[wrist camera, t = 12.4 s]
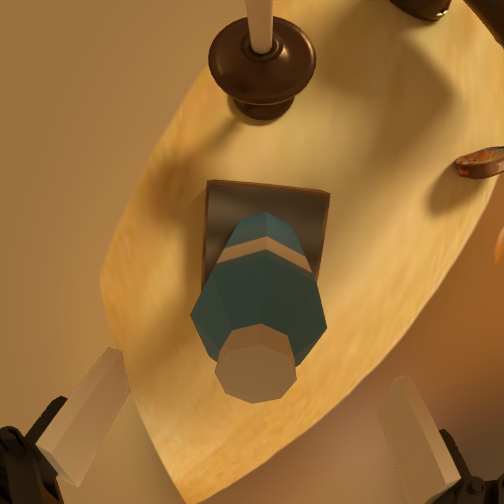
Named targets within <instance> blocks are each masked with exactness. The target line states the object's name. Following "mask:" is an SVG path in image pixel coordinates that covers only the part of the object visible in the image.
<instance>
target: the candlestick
mask: <svg viewBox="0 0 504 504" xmlns="http://www.w3.org/2000/svg"><path fill="white" fill-rule="evenodd" d="M245 4H246V10H247V17H245V18H242V19H239V20H237V21H234V22H233V23H231V24H229V25H228V26H226V27H225V28H224V29H223V30H222V31H220V32H219V33H218V35H217V36H216V38H215V39H214V40H213V42H212V45H211V47H210V50H209V56H208V61H209V68H210V71H211V74H212V76H213V78H214V79H215V81H216V83H217V85H218V86H219V87H220V88H221V89H222V90H223V91H224V92H225V93H227V94H228V95H229V96H231V97H232V98H234V101H235V103H236V105H237V107H238V108H239V109H240V110H241V112H243V113H244V114H245V115H247V116H249V117H251V118H254V119H257V120H271V119H275V118H277V117H279V116H281V115H283V114H284V113H285V112H286V111H287V110H288V109H289V108H290V106H291V105H292V103H293V100H294V96H296V95H297V94H299V93H300V92H301V91H302V90H303V89H304V88H305V87H306V86H307V84H308V83H309V81H310V80H311V78H312V76H313V73H314V70H315V67H316V54H315V49H314V47H313V44H312V42H311V40H310V39H309V37H308V36H307V35H306V33H304V32H303V31H302V30H301V29H300V28H299V27H298V26H296V25H295V24H293V23H292V22H289V21H287V20H285V19H282V18H278V17H274V16H273V0H245Z"/></svg>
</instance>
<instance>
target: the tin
mask: <svg viewBox="0 0 504 504" xmlns="http://www.w3.org/2000/svg"><path fill="white" fill-rule="evenodd" d="M455 163H456V166H457V171H458V174H459V176H461V177H466V178H470V179H484V178H489V177H492V176H495V175H497V174H499V173H502V172H504V146H501V147H490V148H486V149H482V150H480V151H477V152H474V153H471V154H468V155H465V156H462V157H459V158H458V159H456V160H455Z"/></svg>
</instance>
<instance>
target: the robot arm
mask: <svg viewBox="0 0 504 504" xmlns="http://www.w3.org/2000/svg"><path fill="white" fill-rule="evenodd" d="M390 1H391V2H393V3H394V4H395V5H396V6H397V7H399V8H400V9H402V10H403V11H405V12H406V13H408V14H410V15H412V16H414V17H416V18H419V19H422V20H427V21H435V20H438V19H440V18H441V17H443V16H444V15H445V14H446V13H447V11H448V9H449V6H450V3H451V1H452V0H390ZM463 1H464V2H465V3H466V4H467V5H468V6H469V7H470V8H471V10H472V11H473V12H474V13H475V14H476V15H477V16H478V18H479V19H480V20H481V21H482V22H483V24H484V25H485V26H486V27H487V29H488V30H489V31H490V33H491V34H492V35H493V36H494V38H495V40H496V41H497V42H498V43H499V44H500V45H501V46H502V48H503V49H504V0H463ZM129 393H130V388H129V383H128V379H127V374H126V370H125V365H124V360H123V354H122V351H120V350H116V349H112V348H108V349H107V350H106V351H105V353H104V354H103V355H102V356H101V357H100V359H99V360H98V361H97V363H96V364H95V365H94V366H93V367H92V369H91V370H90V371H89V372H88V374H87V375H86V376H85V378H84V379H83V380H82V381H81V383H80V384H79V385H78V387H77V388H76V389H75V391H74V392H73V393H72V395H71V396H70V397H69V398H68V399H67V398H65V397H62V396H60V397H58V398H56V399H55V400H53V401H52V402H51V403H50V404H49V405H48V407H47V408H46V410H45V411H44V412H43V413H42V414H41V417H39V418H38V420H37V421H36V422H35V424H34V425H33V426H32V428H31V429H30V430H29V432H28V433H27V434H26V436H25V437H23V435H22V434H21V433H20V431H19V430H18V429H17V428H14V427H12V426H6V427H2V428H1V429H0V504H64V501H63V498H62V496H61V492H60V489H59V486H58V482H57V480H56V476H57V475H58V474H59V475H60V477H61V478H62V479H63V480H64V481H66V482H68V483H70V484H72V485H74V486H76V487H79V485H80V483H81V481H82V479H83V478H84V475H85V474H86V472H87V470H88V468H89V466H90V464H91V462H92V460H93V458H94V456H95V454H96V453H97V451H98V449H99V447H100V445H101V443H102V441H103V440H104V437H105V436H106V434H107V432H108V430H109V428H110V427H111V425H112V423H113V421H114V419H115V418H116V416H117V414H118V412H119V410H120V409H121V407H122V405H123V403H124V401H125V399H126V398H127V396H128V394H129ZM377 414H378V417H379V420H380V423H381V425H382V428H383V431H384V434H385V437H386V439H387V442H388V445H389V448H390V451H391V454H392V457H393V460H394V463H395V466H396V469H397V472H398V476H399V479H400V482H401V485H402V488H403V492H404V495H405V498H406V502H407V504H504V474H503V475H501V476H500V477H499V478H498V479H497V480H491V481H483V480H482V479H481V478H479V477H475V476H472V475H471V474H470V472H469V470H468V468H467V466H466V464H465V462H464V459H463V457H462V455H461V453H460V452H459V450H458V447H457V446H456V445H455V442H454V440H453V438H452V436H451V435H450V434H449V433H448V432H447V431H446V430H445V429H442V430H438V429H437V427H436V425H435V423H434V421H433V419H432V417H431V415H430V414H429V412H428V410H427V408H426V406H425V404H424V402H423V401H422V399H421V397H420V395H419V394H418V392H417V390H416V388H415V386H414V385H413V383H412V381H411V379H410V378H409V376H396V377H395V379H394V382H393V384H392V386H391V388H390V390H389V392H388V394H387V396H386V398H385V400H384V402H383V404H382V406H381V408H380V410H379V411H378V413H377Z"/></svg>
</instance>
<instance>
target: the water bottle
mask: <svg viewBox="0 0 504 504" xmlns="http://www.w3.org/2000/svg"><path fill="white" fill-rule="evenodd" d="M190 316H191V318H192V320H193V322H194V325H195V327H196V329H197V331H198V333H199V336H200V338H201V340H202V342H203V344H204V346H205V348H206V351H207V353H208V355H209V356H210V357H211V358H212V359H214V360H215V361H216V362H217V365H216V369H215V373H216V375H217V377H218V379H219V381H220V383H221V385H222V387H223V389H224V391H225V393H226V394H229V395H231V396H234V397H236V398H239V399H241V400H244V401H247V402H249V403H252V404H253V403H259V402H264V401H269V400H275V399H280V398H281V397H282V396H283V395H284V394H285V393H286V392H287V390H288V389H289V388H290V387H291V386H292V385H293V383H294V382H295V381H296V380H297V378H296V369H295V367H297V366H298V365H300V364H301V362H302V361H303V360H304V358H305V357H306V356H307V355H308V353H309V352H310V351H311V349H312V348H313V347H314V345H315V344H316V343H317V341H318V340H319V339H320V337H321V336H322V335H323V333H324V332H325V330H326V329H327V325H326V321H325V316H324V312H323V308H322V303H321V299H320V295H319V291H318V287H317V283H316V280H315V278H314V275H313V273H312V271H311V268H310V266H309V264H308V261H307V259H306V257H305V255H304V252H303V250H302V248H301V246H300V243H299V241H298V239H297V237H296V234H295V232H294V230H293V228H292V226H291V225H290V224H288V223H287V222H285V221H283V220H281V219H279V218H277V217H275V216H274V215H272V214H270V213H268V212H264V213H261V214H258V215H254V216H251V217H248V218H245V219H241V220H240V221H239V222H238V224H237V226H236V228H235V230H234V231H233V233H232V235H231V237H230V239H229V241H228V242H227V244H226V246H225V248H224V250H223V252H222V254H221V255H220V257H219V259H218V261H217V263H216V265H215V267H214V268H213V270H212V272H211V274H210V276H209V278H208V280H207V282H206V284H205V286H204V288H203V290H202V292H201V294H200V296H199V298H198V300H197V302H196V304H195V306H194V308H193V311H192V313H191V315H190Z"/></svg>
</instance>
